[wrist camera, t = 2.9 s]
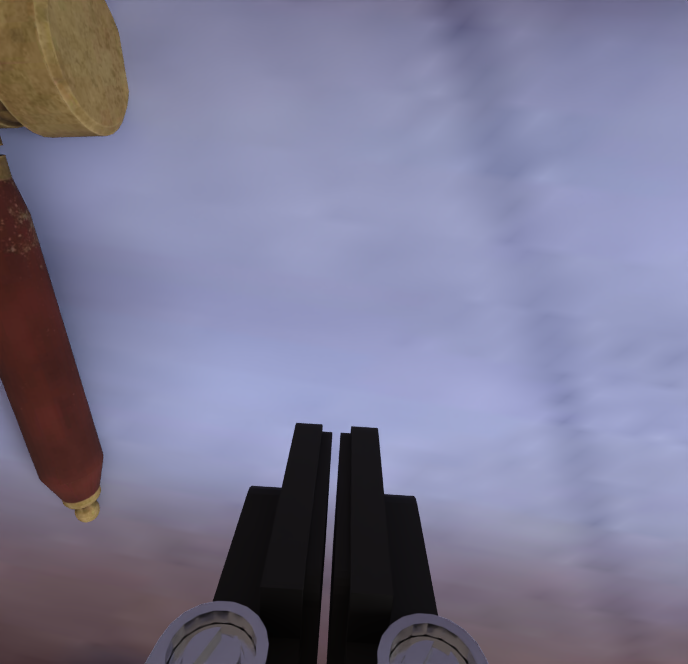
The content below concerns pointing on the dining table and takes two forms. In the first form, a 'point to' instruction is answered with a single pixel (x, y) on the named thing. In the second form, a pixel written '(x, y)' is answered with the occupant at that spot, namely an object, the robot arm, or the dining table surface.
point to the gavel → (21, 239)
